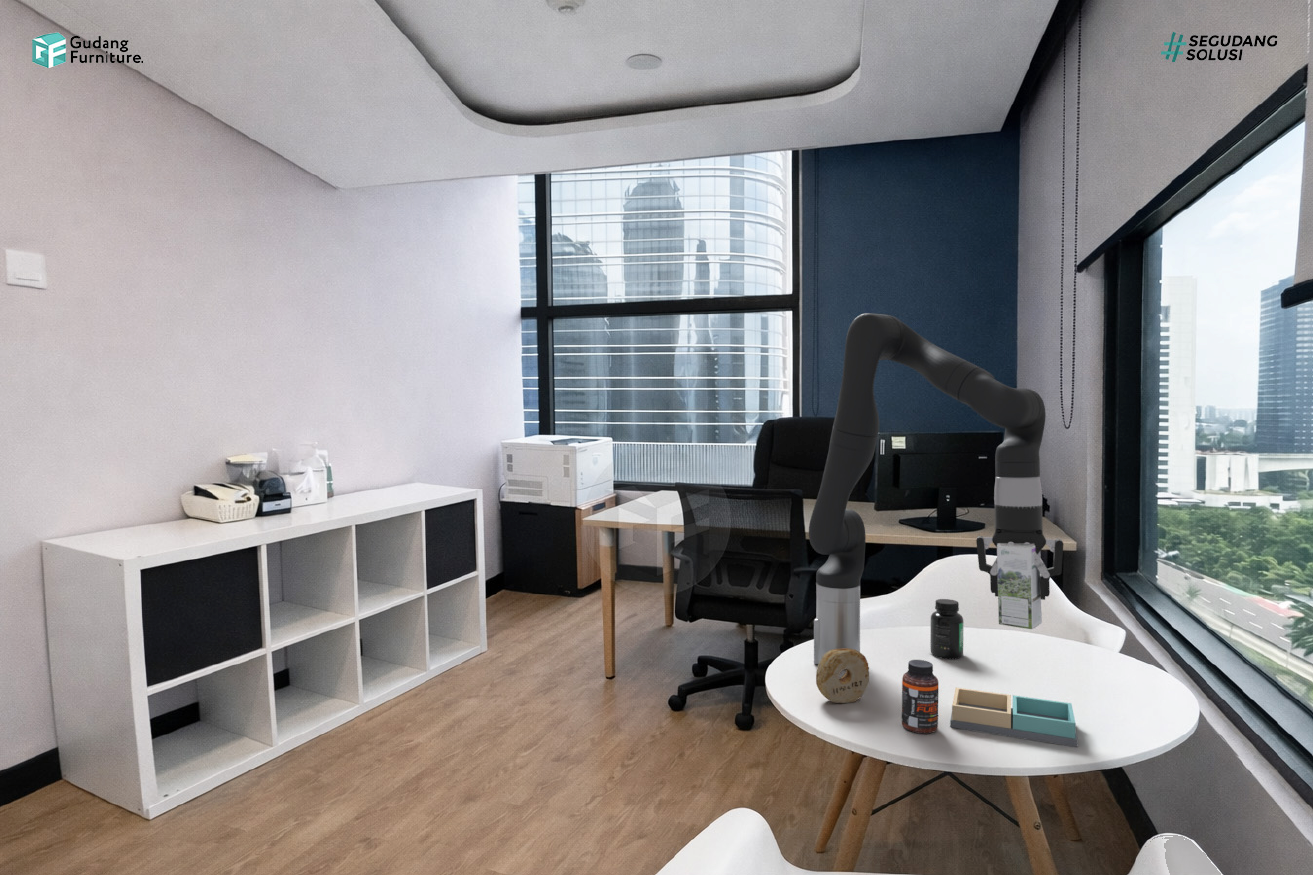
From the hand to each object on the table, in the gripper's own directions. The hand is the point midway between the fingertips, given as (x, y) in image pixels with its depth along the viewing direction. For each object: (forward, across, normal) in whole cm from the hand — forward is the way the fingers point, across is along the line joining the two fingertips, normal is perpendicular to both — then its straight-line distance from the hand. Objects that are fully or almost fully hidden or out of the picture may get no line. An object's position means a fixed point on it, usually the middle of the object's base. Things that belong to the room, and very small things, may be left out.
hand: (1019, 596), depth 133 cm
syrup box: (+5, 0, 0) cm, 5 cm away
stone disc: (+21, -31, -3) cm, 38 cm away
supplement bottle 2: (+21, -15, +33) cm, 42 cm away
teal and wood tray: (+22, -2, -3) cm, 22 cm away
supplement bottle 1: (+22, -16, -10) cm, 29 cm away
